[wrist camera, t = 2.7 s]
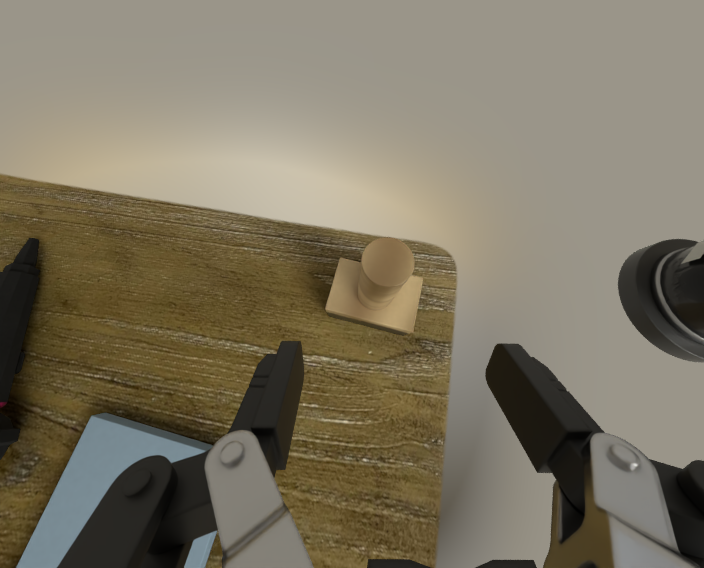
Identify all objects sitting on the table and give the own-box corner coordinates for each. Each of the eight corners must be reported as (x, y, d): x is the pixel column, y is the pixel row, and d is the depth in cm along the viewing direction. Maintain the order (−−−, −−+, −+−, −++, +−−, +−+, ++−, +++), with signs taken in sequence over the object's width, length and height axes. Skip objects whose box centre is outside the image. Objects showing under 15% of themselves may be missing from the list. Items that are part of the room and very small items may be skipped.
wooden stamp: (412, 289, 24) (460, 238, 14) (403, 335, 23) (447, 319, 12) (341, 271, 24) (335, 209, 14) (328, 316, 23) (311, 284, 13)
